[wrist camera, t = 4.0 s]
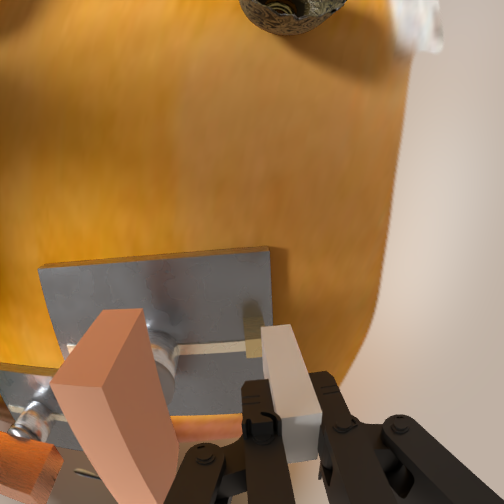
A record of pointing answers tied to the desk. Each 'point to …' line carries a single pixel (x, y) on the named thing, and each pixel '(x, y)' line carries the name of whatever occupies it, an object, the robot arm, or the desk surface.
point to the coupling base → (176, 315)
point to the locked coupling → (31, 434)
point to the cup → (289, 14)
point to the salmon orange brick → (121, 407)
